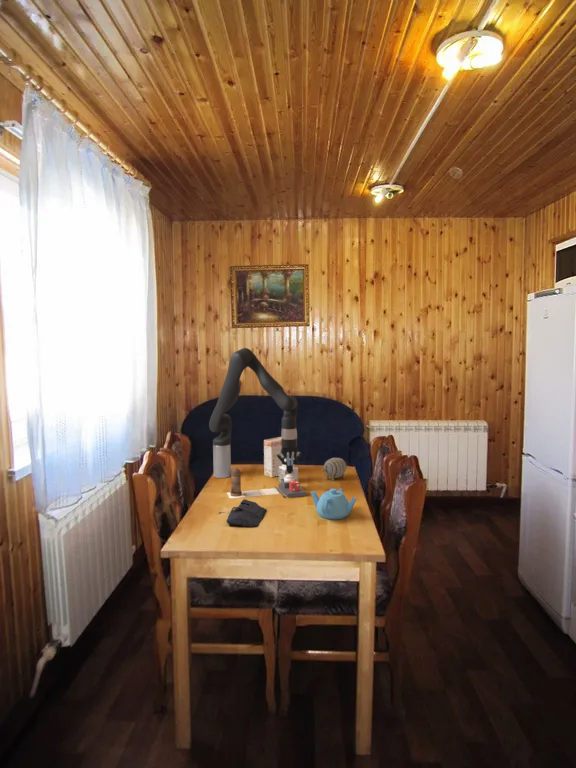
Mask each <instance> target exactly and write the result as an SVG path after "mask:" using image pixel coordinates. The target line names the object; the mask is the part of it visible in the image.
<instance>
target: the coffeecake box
mask: <svg viewBox="0 0 576 768" xmlns="http://www.w3.org/2000/svg"><path fill="white" fill-rule="evenodd" d="M281 449H282V445H281V436H278V437H272V438H267V439H264V440H263V454H264V455H263V466H264V467H263V468H264V471H263V472H264V473H263V474H264V476H266V477H268V478H275V476H276V477H279V466H282V462H281V461H280V459H279V458H278V457H277V456H276V455H277V454H279V453H280V452H281ZM283 457H284V456H283V455H282V458H283Z"/></svg>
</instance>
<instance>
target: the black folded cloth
mask: <svg viewBox="0 0 576 768" xmlns="http://www.w3.org/2000/svg"><path fill="white" fill-rule="evenodd" d="M267 512H268V510H267V508H265V507H262V506H260V505H259V503H257V502H256V501H253V500H252V501H251V500H249V499H242V500H241V501H240V504H239V505H238V506H234V507H233V508H231V510H230V512H229V513H228V516H227V519H226V523H227V525H229V526H230V525H231V526H233V525H234V526H240V527H247V528H258V527H259V526H260V524H261V522H262V521H263V519H264V518H265V516H266V514H267Z"/></svg>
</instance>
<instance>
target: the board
mask: <svg viewBox="0 0 576 768" xmlns="http://www.w3.org/2000/svg"><path fill="white" fill-rule="evenodd" d="M230 492H231V491H230ZM230 492H226V494H227V496H228V498H229V499H239V498H246V497H247V498H250V497H252V498H253V497H262V496H271V495H272V496H273V495H281V497H283V498H285V495H284V493H283V492H282V491H281V490H280V489H279V487H277V486H273V487H272V488H264V489H263V488H261V489H252V490H251V489H250V490H243V491H242V490H241V492H242V495H241V496H236V497H235V496H231V495H230Z"/></svg>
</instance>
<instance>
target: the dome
mask: <svg viewBox="0 0 576 768" xmlns="http://www.w3.org/2000/svg"><path fill="white" fill-rule="evenodd" d="M289 481H295V477H294V475H293V474H287V475H286V477H284V482H285V483H289Z"/></svg>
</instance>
